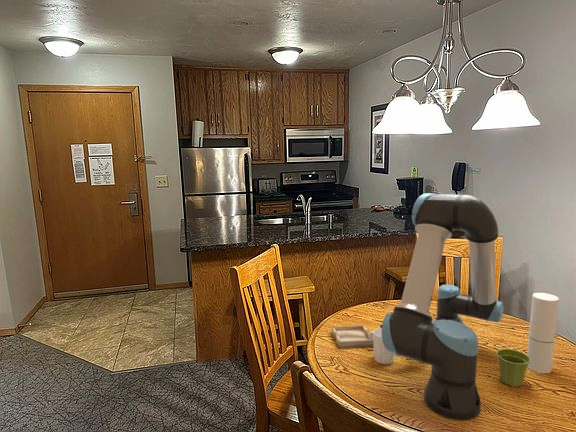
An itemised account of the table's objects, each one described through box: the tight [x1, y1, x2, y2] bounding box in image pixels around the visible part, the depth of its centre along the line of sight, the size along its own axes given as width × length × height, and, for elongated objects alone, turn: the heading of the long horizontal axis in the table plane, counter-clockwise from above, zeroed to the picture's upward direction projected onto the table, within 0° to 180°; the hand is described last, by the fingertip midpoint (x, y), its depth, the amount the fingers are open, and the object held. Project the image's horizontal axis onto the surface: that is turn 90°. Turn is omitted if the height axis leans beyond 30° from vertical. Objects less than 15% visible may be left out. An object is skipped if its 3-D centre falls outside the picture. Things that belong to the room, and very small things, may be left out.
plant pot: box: [495, 348, 531, 388], centre depth 124 cm, size 9×9×9 cm
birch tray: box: [331, 324, 373, 350], centre depth 154 cm, size 13×13×2 cm
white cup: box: [372, 327, 395, 365], centre depth 138 cm, size 8×8×10 cm
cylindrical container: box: [526, 292, 560, 374], centre depth 130 cm, size 7×7×25 cm
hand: (381, 344), depth 138 cm, fingers open, 13 cm apart
